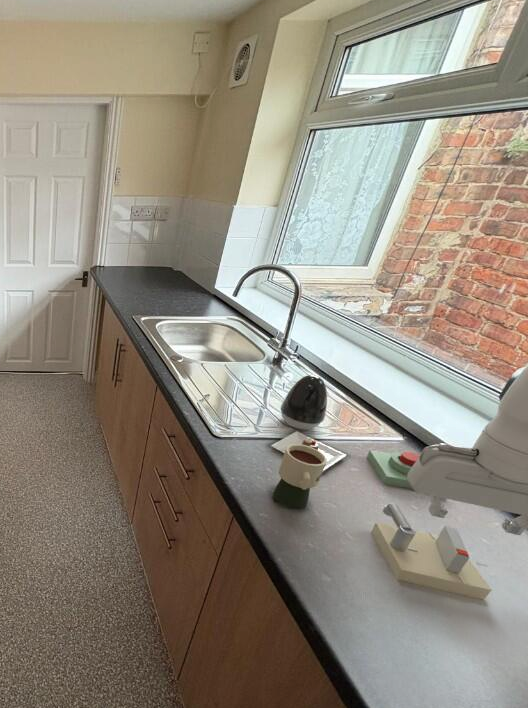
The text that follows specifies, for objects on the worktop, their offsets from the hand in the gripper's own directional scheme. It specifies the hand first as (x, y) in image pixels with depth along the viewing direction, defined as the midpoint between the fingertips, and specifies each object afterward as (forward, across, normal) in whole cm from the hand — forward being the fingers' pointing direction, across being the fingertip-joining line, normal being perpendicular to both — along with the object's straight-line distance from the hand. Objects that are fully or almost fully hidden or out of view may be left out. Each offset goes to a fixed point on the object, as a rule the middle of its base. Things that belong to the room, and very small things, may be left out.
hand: (471, 522), depth 69 cm
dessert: (+13, -16, +30) cm, 36 cm away
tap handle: (+9, 0, 0) cm, 9 cm away
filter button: (+9, +4, +29) cm, 31 cm away
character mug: (+13, -22, +9) cm, 27 cm away
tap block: (+12, -1, 0) cm, 12 cm away
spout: (+9, -7, +3) cm, 12 cm away
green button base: (+12, +4, +29) cm, 32 cm away
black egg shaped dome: (+13, -15, +44) cm, 48 cm away
